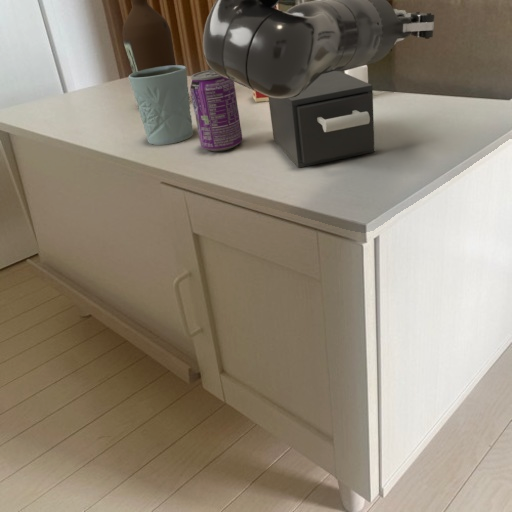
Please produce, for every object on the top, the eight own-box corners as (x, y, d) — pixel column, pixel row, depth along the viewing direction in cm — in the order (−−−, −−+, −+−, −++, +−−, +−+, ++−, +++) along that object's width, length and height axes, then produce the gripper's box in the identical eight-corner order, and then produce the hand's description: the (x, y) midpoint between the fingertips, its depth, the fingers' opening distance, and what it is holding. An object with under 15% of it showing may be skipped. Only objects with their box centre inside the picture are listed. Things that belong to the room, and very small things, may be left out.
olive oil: (182, 95, 131) (159, -19, 119) (186, 104, 122) (161, -18, 110) (139, 103, 130) (111, -11, 118) (139, 113, 121) (110, -10, 109)
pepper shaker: (348, 101, 105) (345, 50, 101) (345, 96, 109) (342, 47, 104) (369, 98, 105) (367, 47, 100) (365, 94, 108) (363, 44, 104)
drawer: (386, 158, 73) (385, 100, 69) (313, 173, 72) (308, 115, 68) (340, 126, 89) (337, 77, 85) (280, 138, 87) (274, 90, 84)
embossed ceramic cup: (135, 147, 98) (118, 79, 92) (158, 130, 106) (143, 67, 100) (186, 144, 95) (172, 74, 89) (206, 127, 103) (194, 62, 97)
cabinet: (374, 152, 78) (372, 85, 74) (298, 168, 77) (291, 100, 72) (339, 127, 91) (336, 69, 87) (273, 141, 90) (266, 82, 85)
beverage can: (214, 139, 95) (202, 69, 89) (250, 139, 92) (239, 67, 86) (193, 153, 90) (179, 79, 84) (230, 154, 87) (218, 77, 81)
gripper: (408, -9, 54) (466, -13, 66) (299, -2, 62) (368, -7, 74) (404, 70, 57) (460, 52, 70) (300, 67, 65) (367, 51, 77)
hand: (412, 21), depth 72 cm, fingers closed
